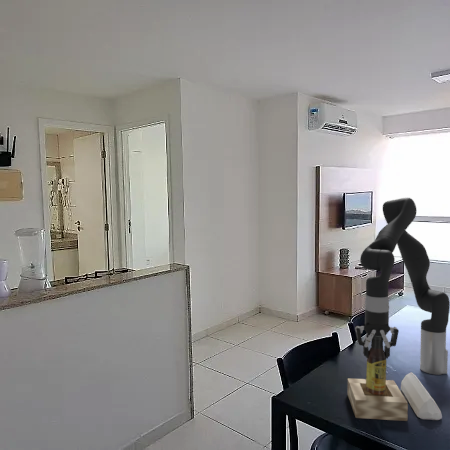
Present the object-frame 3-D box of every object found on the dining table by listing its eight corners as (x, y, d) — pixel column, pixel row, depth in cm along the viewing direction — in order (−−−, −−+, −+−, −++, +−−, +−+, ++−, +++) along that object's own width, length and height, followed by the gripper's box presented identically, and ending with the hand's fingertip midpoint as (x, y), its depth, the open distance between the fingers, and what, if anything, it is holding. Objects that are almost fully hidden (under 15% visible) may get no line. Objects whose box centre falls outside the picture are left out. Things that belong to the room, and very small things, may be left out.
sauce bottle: (376, 397, 134) (376, 339, 132) (362, 390, 139) (362, 333, 138) (390, 393, 137) (390, 335, 135) (375, 385, 142) (376, 330, 141)
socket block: (393, 396, 145) (393, 380, 145) (407, 420, 129) (407, 402, 129) (347, 394, 147) (347, 378, 147) (355, 417, 131) (355, 399, 131)
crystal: (451, 412, 127) (425, 378, 151) (430, 400, 128) (407, 368, 152) (438, 431, 128) (414, 395, 152) (417, 418, 129) (397, 384, 152)
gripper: (396, 306, 139) (395, 354, 140) (352, 305, 141) (352, 352, 142) (402, 312, 131) (401, 362, 133) (356, 311, 133) (356, 360, 134)
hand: (376, 357), depth 137 cm, fingers closed on sauce bottle, 5 cm apart
